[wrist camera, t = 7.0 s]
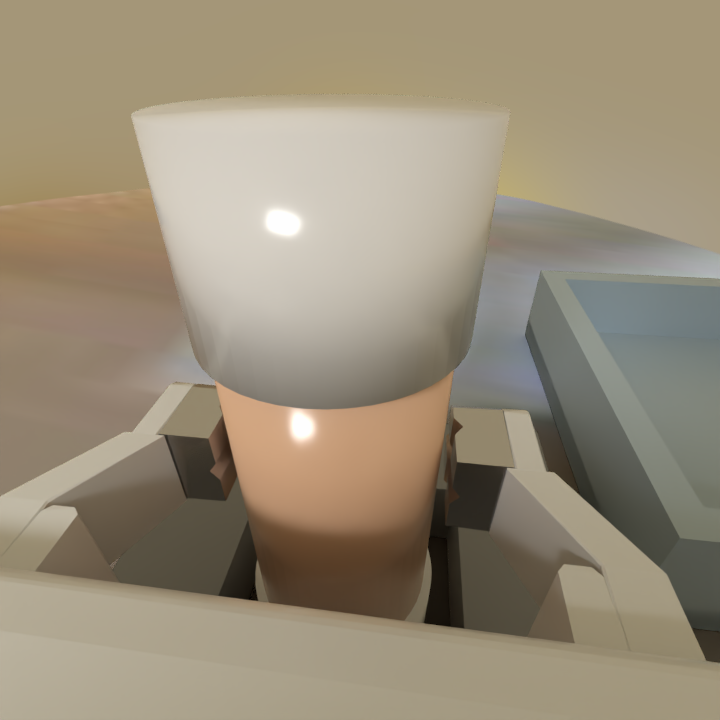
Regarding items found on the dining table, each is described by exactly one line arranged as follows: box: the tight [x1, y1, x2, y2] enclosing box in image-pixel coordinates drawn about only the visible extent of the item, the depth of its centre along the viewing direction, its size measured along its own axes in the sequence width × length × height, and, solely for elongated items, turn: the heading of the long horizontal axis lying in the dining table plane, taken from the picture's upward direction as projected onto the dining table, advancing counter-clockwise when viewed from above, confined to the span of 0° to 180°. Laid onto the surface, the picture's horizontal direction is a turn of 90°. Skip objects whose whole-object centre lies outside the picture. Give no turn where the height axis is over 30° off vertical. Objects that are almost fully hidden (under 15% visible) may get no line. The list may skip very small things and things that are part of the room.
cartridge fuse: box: [131, 94, 510, 623], centre depth 9 cm, size 4×4×13 cm
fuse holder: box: [113, 423, 549, 637], centre depth 12 cm, size 12×12×2 cm
